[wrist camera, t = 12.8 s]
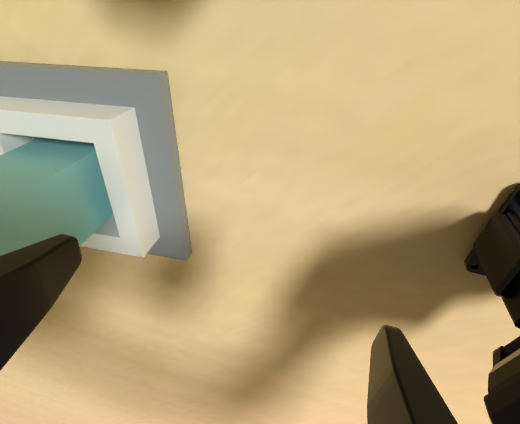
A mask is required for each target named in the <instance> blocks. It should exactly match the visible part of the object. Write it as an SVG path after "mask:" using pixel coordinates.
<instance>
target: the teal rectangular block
mask: <svg viewBox="0 0 520 424" xmlns="http://www.w3.org/2000/svg"><path fill="white" fill-rule="evenodd" d="M113 215H114V214H113V211H112V207H111V204H110V200H109V197H108V193H107V189H106V186H105V182H104V179H103V175H102V172H101V168H100V164H99V161H98V157H97V154H96V150H95V147H94V143H87V142H78V141H69V140H60V139H51V138H42V137H39V138H37V139H35V140H33V141H31V142H28V143H26V144H24V145H22V146H20V147H17V148H15V149H13V150H11V151H9V152H6V153H4V154H2V155H0V256H1V255H4V254H7V253H9V252H12V251H15V250H18V249H20V248H23V247H26V246H29V245H32V244H34V243H37V242H40V241H43V240H45V239H48V238H51V237H54V236H56V235H59V234H67V235H71V236H74V237H76V238H77V239H78V242H79V246H80V245H81V244H82V243H84V242H85V241H86V240H87V239H88V238H89V237H90V236H91V235H92V234H93V233H94V232H96V231H97V230H98V229H99V228H100V227H101V226H102V225H103V224H104V223H105V222H106V221H107V220H109V219H110V218H111V217H112V216H113Z"/></svg>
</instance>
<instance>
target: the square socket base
mask: <svg viewBox="0 0 520 424" xmlns="http://www.w3.org/2000/svg"><path fill="white" fill-rule="evenodd" d="M39 137H42V138H51V139H60V140H69V141H78V142H87V143H94V147H95V150H96V154H97V157H98V161H99V164H100V168H101V172H102V175H103V179H104V182H105V186H106V189H107V193H108V197H109V200H110V204H111V207H112V211H113V214H114V215H113V216H112V217H111V218H110V219H109V220H107V221H106V222H105V223H104V224H103V225H102V226H101V227H100V228H99V229H98V230H97V231H96V232H94V233H93V234H92V235H91V236H90V237H89V238H88V239H87V240H86V241H85V242H84V243H82V244H81V245H80V246H81V247H87V248H92V249H98V250H104V251H109V252H115V253H121V254H126V255H132V256H138V257H144V256H145V255H146V254H153V255H159V256H164V257H170V258H176V259H182V260H187V259H188V258H189V256H190V255H191V253H192V250H191V243H190V236H189V228H188V221H187V213H186V206H185V199H184V191H183V184H182V176H181V169H180V162H179V154H178V147H177V139H176V132H175V125H174V117H173V110H172V102H171V95H170V88H169V80H168V73H167V71H154V70H138V69H121V68H104V67H88V66H71V65H54V64H37V63H21V62H4V61H0V155H2V154H4V153H6V152H9V151H11V150H13V149H15V148H17V147H20V146H22V145H24V144H26V143H28V142H31V141H33V140H35V139H37V138H39Z"/></svg>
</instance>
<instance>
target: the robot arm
mask: <svg viewBox="0 0 520 424" xmlns="http://www.w3.org/2000/svg"><path fill="white" fill-rule="evenodd" d="M81 260H82V256H81V251H80V247H79V242H78V239H77V238H76V237H74V236H71V235H67V234H59V235H56V236H54V237H51V238H48V239H45V240H43V241H40V242H37V243H34V244H32V245H29V246H26V247H23V248H20V249H18V250H15V251H12V252H9V253H7V254H4V255H1V256H0V370H1V369H2V368H3V367H4V365H5V364H6V363H7V362H8V361H9V359H10V358H11V357H12V356H13V354H14V353H15V352H16V351H17V350H18V348H19V347H20V346H21V345H22V343H23V342H24V341H25V340H26V338H27V337H28V336H29V335H30V334H31V332H32V331H33V330H34V329H35V327H36V326H37V325H38V324H39V322H40V321H41V320H42V319H43V318H44V316H45V315H46V314H47V312H48V311H49V310H50V309H51V307H52V306H53V304H54V303H55V302H56V300H57V299H58V297H59V296H60V294H61V292H62V291H63V289H64V288H65V286H66V285H67V283H68V282H69V280H70V279H71V277H72V276H73V274H74V273H75V271H76V270H77V268H78V267H79V265H80V263H81ZM464 263H465V266H466V269H467V270H468V271H470V272H473V273H477V274H481V275H485V276H487V279H488V281H489V283H490V285H491V287H492V289H493V291H494V293H495V295H496V296H500V297H502V299H503V301H504V303H505V306H506V308H507V310H508V312H509V314H510V316H511V318H512V320H513V322H514V324H515V326H516V327H517V328H520V184H519V185H518V186H516V187H515V188H514V190H513V191H512V193H511V194H510V196H509V197H508V198H507V200H506V201H505V203H504V204H503V206H502V207H501V209H500V210H499V212H498V213H497V214H495V215H494V216H493V217H492V218H491V220H490V221H489V223H488V224H487V226H486V227H485V229H484V230H483V232H482V233H481V234H480V236H479V237H478V239H477V240H476V242H475V243H474V245H473V250H472V251H471V253H470V254H469V256H468V257H467V259H466V260H465V262H464ZM474 263H477V264H476V265H472V264H474ZM488 393H489V394H487V395H485V396H484V402H485V406H486V409H487V412H488V415H489V418H490V421H491V423H492V424H520V336H519V337H518V338H516V339H515V340H513V341H512V342H510V343H509V344H507V345H506V346H505V347H504V346H500V347H499V348H498V349H496V350H495V351H493V369H492V370H491V372H490V373H489V378H488ZM367 421H368V424H458V423H457V421H456V420H455V418H454V417H453V415H452V413H451V412H450V410H449V408H448V407H447V405H446V403H445V402H444V400H443V398H442V397H441V395H440V394H439V392H438V390H437V389H436V387H435V385H434V384H433V382H432V380H431V379H430V377H429V375H428V374H427V372H426V371H425V369H424V367H423V366H422V364H421V362H420V361H419V359H418V357H417V356H416V354H415V352H414V351H413V349H412V348H411V346H410V344H409V343H408V341H407V339H406V338H405V336H404V334H403V333H402V331H401V330H400V329H399V328H396V327H393V326H389V325H383V326H382V327H381V329H380V331H379V333H378V334H377V336H376V338H375V340H374V341H373V344H372V348H371V359H370V372H369V386H368V401H367Z"/></svg>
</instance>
